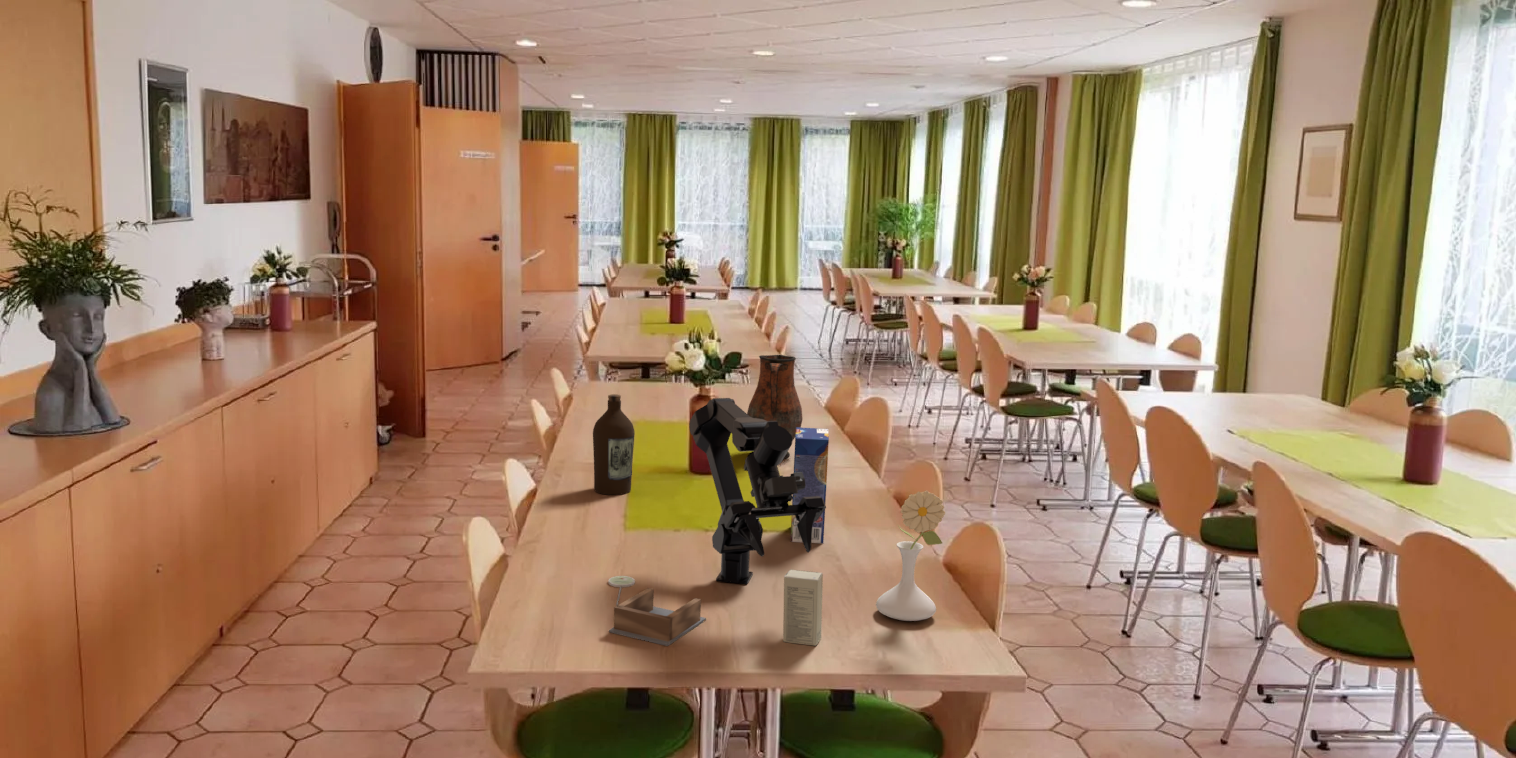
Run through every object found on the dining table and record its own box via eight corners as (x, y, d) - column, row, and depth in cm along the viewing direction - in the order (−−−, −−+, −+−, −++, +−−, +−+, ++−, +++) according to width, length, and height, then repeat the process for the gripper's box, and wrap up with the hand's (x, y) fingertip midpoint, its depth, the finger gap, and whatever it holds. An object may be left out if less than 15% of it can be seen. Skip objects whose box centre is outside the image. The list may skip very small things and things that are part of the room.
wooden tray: (647, 608, 214) (648, 587, 213) (700, 620, 209) (700, 599, 209) (613, 628, 204) (614, 607, 203) (668, 641, 199) (668, 619, 198)
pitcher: (801, 450, 349) (806, 353, 344) (798, 467, 328) (803, 364, 323) (747, 447, 350) (751, 350, 345) (741, 463, 329) (745, 360, 324)
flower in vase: (862, 613, 217) (870, 485, 213) (900, 600, 225) (908, 476, 221) (917, 634, 208) (926, 501, 204) (955, 619, 216) (964, 491, 212)
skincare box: (821, 638, 204) (825, 572, 202) (816, 647, 200) (819, 580, 198) (786, 632, 206) (789, 567, 204) (780, 641, 202) (783, 575, 200)
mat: (649, 607, 215) (649, 605, 215) (705, 620, 210) (706, 618, 210) (609, 632, 203) (609, 629, 203) (667, 646, 198) (667, 643, 198)
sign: (602, 603, 216) (609, 575, 231) (602, 607, 216) (609, 579, 231) (630, 604, 216) (635, 576, 231) (630, 608, 216) (635, 580, 231)
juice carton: (823, 543, 259) (828, 440, 255) (790, 541, 259) (795, 438, 255) (823, 528, 270) (828, 428, 266) (791, 526, 271) (796, 427, 267)
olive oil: (584, 488, 297) (586, 393, 293) (620, 483, 303) (622, 390, 299) (604, 497, 288) (606, 400, 284) (640, 492, 294) (643, 397, 290)
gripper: (731, 459, 207) (751, 536, 199) (824, 454, 214) (847, 528, 206) (714, 490, 215) (733, 565, 207) (804, 484, 222) (826, 556, 214)
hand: (786, 553), depth 208 cm, fingers open, 9 cm apart
